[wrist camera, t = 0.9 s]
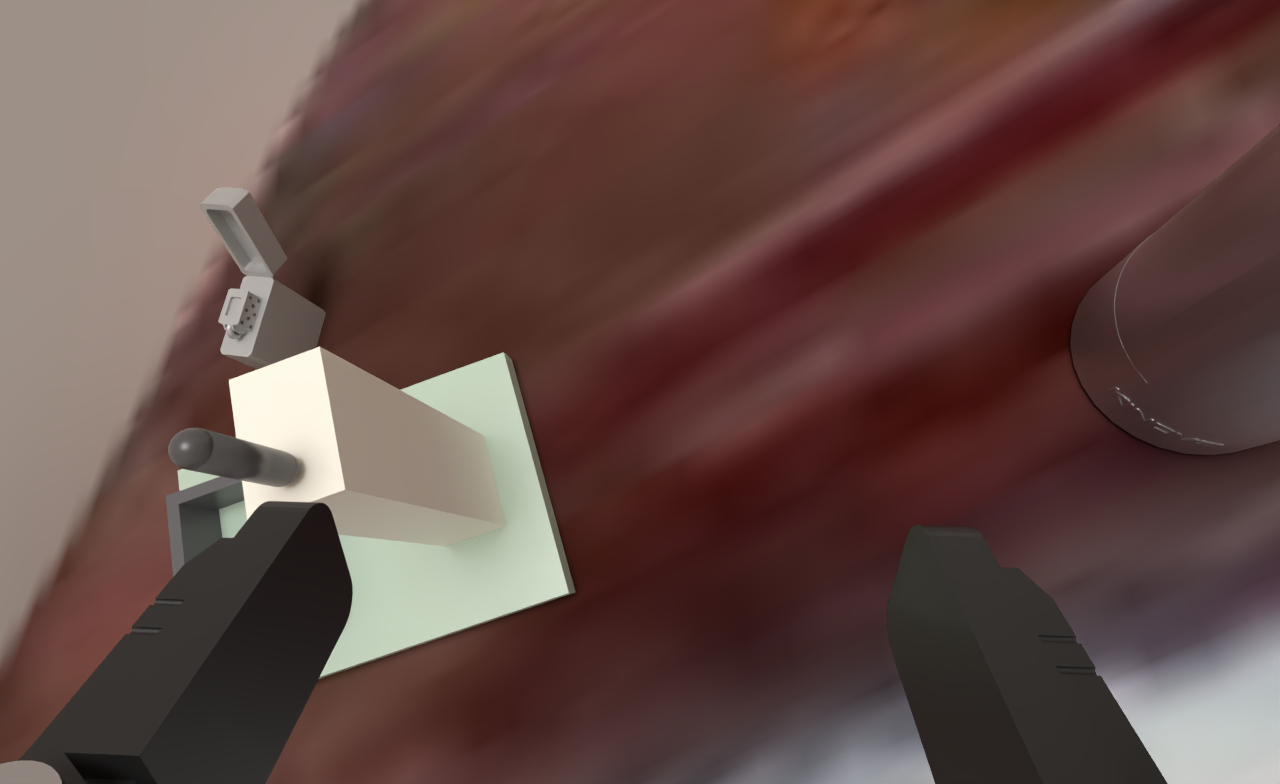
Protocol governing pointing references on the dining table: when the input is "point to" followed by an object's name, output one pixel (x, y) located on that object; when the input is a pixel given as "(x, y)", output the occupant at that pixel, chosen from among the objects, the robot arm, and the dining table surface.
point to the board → (412, 572)
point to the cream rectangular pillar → (350, 453)
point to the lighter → (258, 287)
